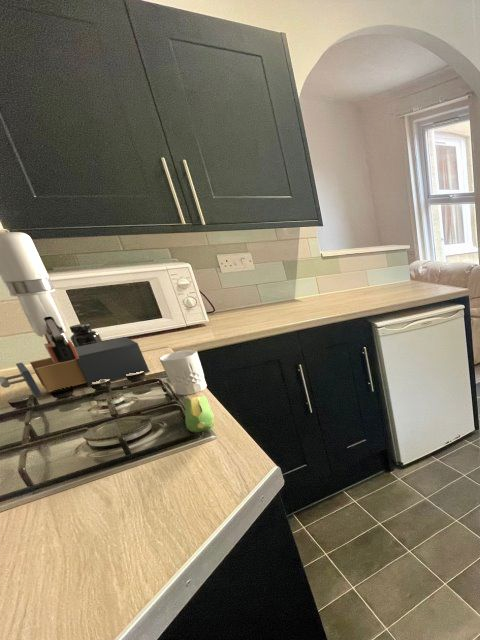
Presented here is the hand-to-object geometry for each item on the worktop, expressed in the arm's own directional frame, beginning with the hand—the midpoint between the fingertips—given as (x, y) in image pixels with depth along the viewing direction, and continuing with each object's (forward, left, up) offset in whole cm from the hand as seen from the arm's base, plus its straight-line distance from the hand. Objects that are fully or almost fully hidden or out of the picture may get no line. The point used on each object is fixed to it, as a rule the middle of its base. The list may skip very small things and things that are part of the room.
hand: (65, 358), depth 107 cm
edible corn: (+27, -38, -11) cm, 48 cm away
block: (0, 0, 0) cm, 0 cm away
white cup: (+24, -15, -11) cm, 31 cm away
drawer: (-8, +10, -10) cm, 16 cm away
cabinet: (+4, +15, -11) cm, 19 cm away
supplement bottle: (-4, +38, -11) cm, 39 cm away
